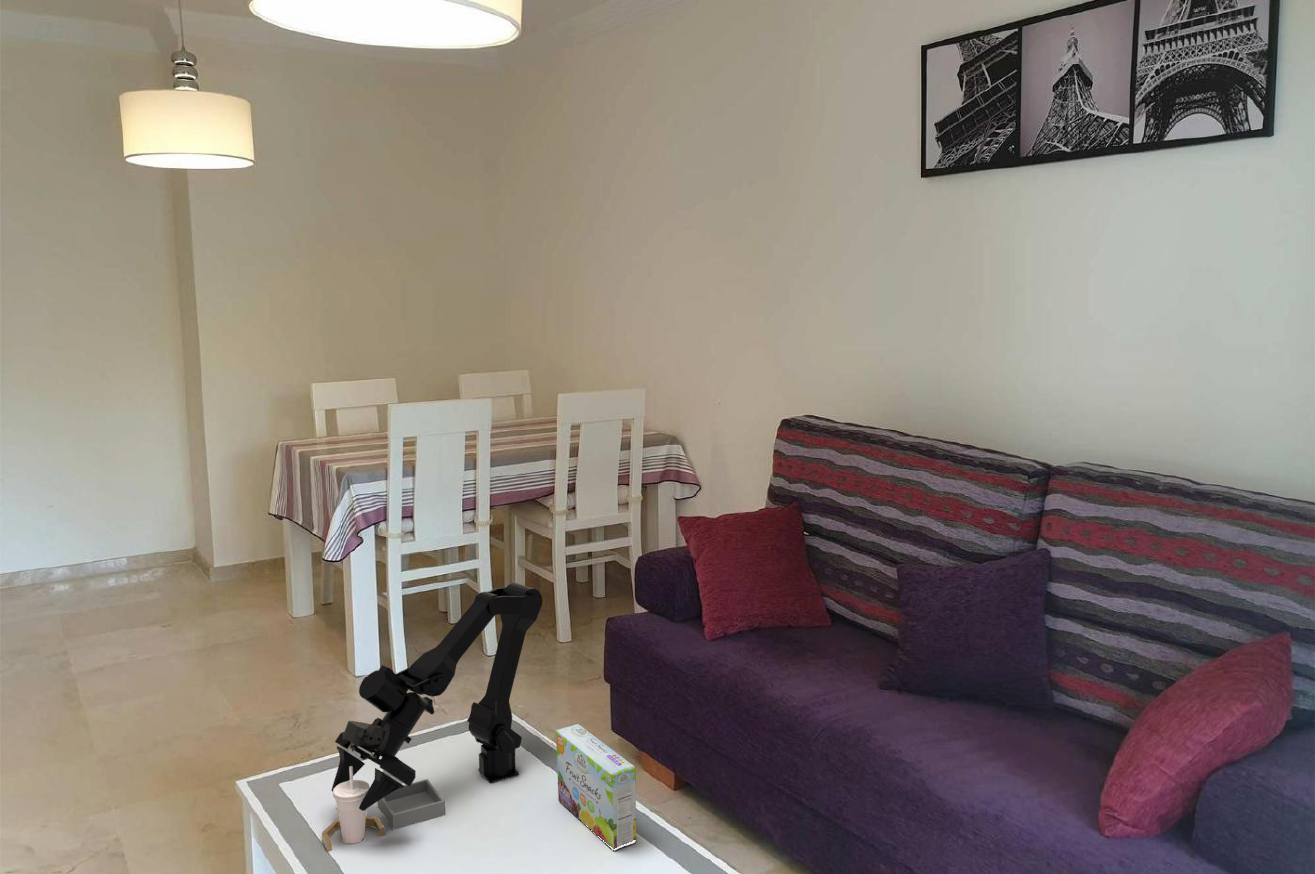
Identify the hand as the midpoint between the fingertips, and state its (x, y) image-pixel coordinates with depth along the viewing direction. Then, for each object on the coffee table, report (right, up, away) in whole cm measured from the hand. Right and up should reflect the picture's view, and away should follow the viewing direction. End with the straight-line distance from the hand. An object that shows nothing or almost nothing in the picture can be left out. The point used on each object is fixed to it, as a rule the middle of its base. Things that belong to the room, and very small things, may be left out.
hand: (346, 800), depth 181 cm
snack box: (+44, -7, +8) cm, 45 cm away
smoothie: (+1, -8, +2) cm, 8 cm away
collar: (0, -7, +3) cm, 8 cm away
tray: (+9, -6, +12) cm, 16 cm away
